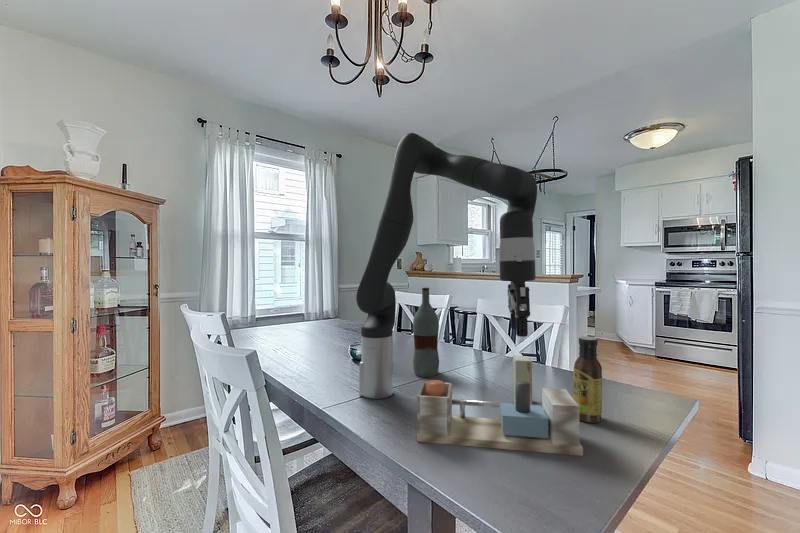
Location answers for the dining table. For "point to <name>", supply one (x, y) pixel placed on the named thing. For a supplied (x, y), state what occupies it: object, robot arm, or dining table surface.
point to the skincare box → (522, 372)
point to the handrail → (476, 404)
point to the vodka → (425, 339)
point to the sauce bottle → (588, 381)
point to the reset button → (435, 388)
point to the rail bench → (499, 425)
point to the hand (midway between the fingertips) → (518, 332)
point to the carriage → (523, 415)
